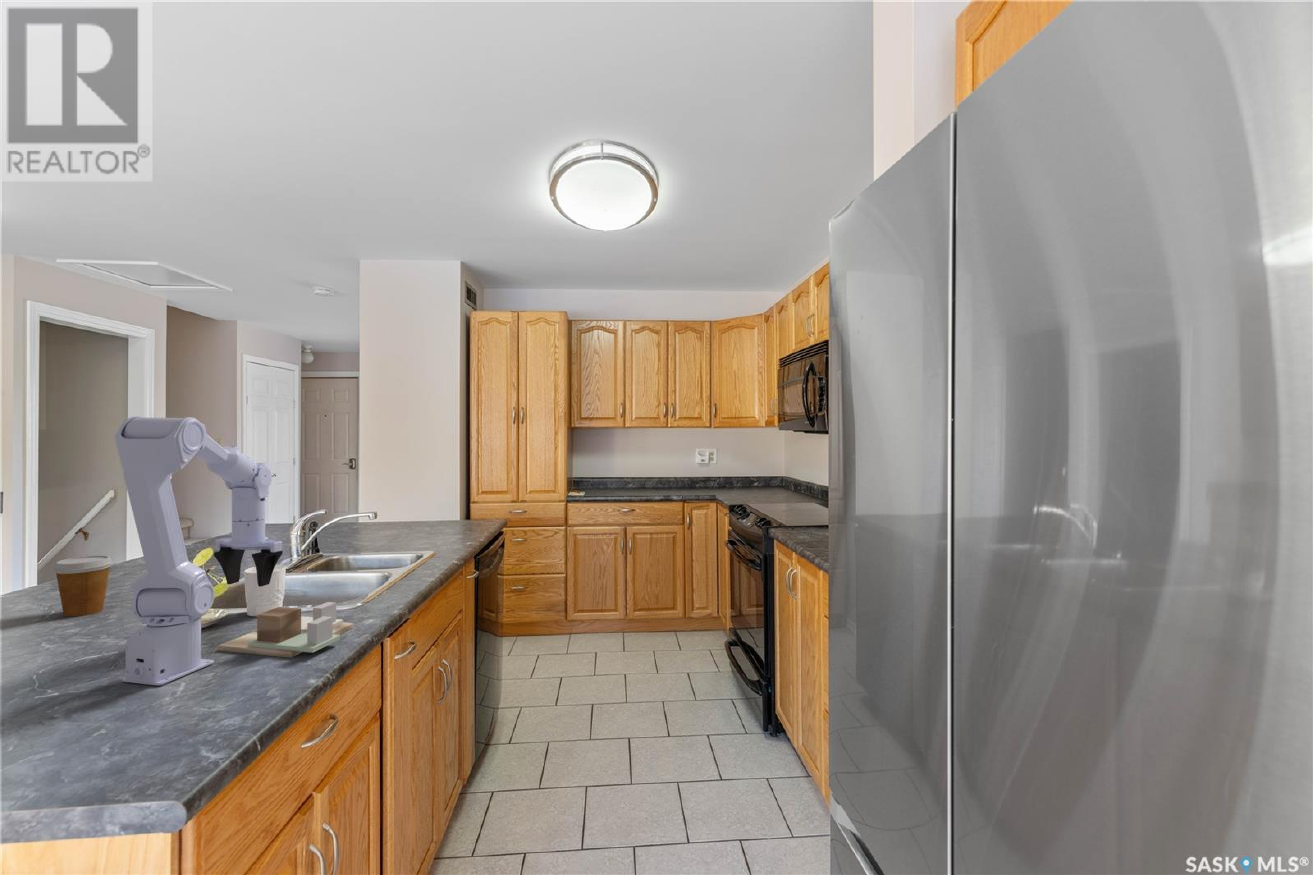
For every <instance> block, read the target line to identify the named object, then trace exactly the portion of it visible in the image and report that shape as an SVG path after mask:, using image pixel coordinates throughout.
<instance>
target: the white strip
mask: <svg viewBox="0 0 1313 875" xmlns="http://www.w3.org/2000/svg"><path fill="white" fill-rule="evenodd" d="M323 616H326V617H333V628H334V627H336V626H339V625H341V624H343V623H344V619H341V618H339V619H338V618H337V602H335V601H332V602H331V601H327V602H324V603H322V604H319V605H316V606H314V607H313V608H312V616H303V615H301V632H307V623H309V622H311V621H314V620H316V619H318V618H321V617H323Z"/></svg>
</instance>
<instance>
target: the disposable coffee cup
mask: <svg viewBox="0 0 1313 875" xmlns="http://www.w3.org/2000/svg"><path fill="white" fill-rule="evenodd" d="M113 563H114V561H113V560H112V558H111V556H110V555H101V554H100V555H86V556H79V557H76V556H75V557H72V558H71V557H70V558H65V559H61V560H58V561H56V562H55V564H54V567H52V570H53V571H54V573H55V575H56V580H57V586H58V591H59V596H60V602H61V603H60V604H61V607H62V612H63V616H64V617H68V618H69V617H82V616H87V615H93V614H96V613H98V612H101V611H103V610H104V605H105V600H106V593H107V588H108V582H109V575H110V570H111V567H112V564H113Z"/></svg>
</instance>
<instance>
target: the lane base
mask: <svg viewBox="0 0 1313 875" xmlns="http://www.w3.org/2000/svg"><path fill="white" fill-rule="evenodd" d="M352 629H354V623H351V622H343V624H341V625H339V626H336V627H334V628H333V635H340V636H341V635H342V634H344V633H346V632H349V631H350V630H352ZM255 639H257V629H256V630H253V631H251V632H248V633H247V634H244V635H242V636H239V637H236V638H234V639H232V640H228V641H226V642H223V643H221V644H219V645H218V652H230V653H239V654H240V653H241V654H250V655H251V654H252V655H261V656H269V657H271V656H272V657H280V658H281V657H283V658H294V657H296V656H297V655H301V654H302V653H303V652H301V651H291V650H280V649H270V648H259V647H249V646H248V642H250V641H253V640H255Z"/></svg>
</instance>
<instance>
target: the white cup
mask: <svg viewBox="0 0 1313 875" xmlns="http://www.w3.org/2000/svg"><path fill="white" fill-rule="evenodd" d="M286 570H287V566H286V565H283V564H276V565H275V568H274V570H273V573H272V576H271V580H270V583H269V584H268V585H265V586H262V587H260V586H258V583H257V570H256V566H253V567H249V568H246V569H245V570H243V575H244V593H245V604H246V615H247V616H250V617H257V615H258V614H261V613H263V612H266V611H269V610H272V609H274V608H277V607H284V606H283V605H284V604H283V603H284V598H285V588H286V587H285V586H286V574H287V572H286Z"/></svg>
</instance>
